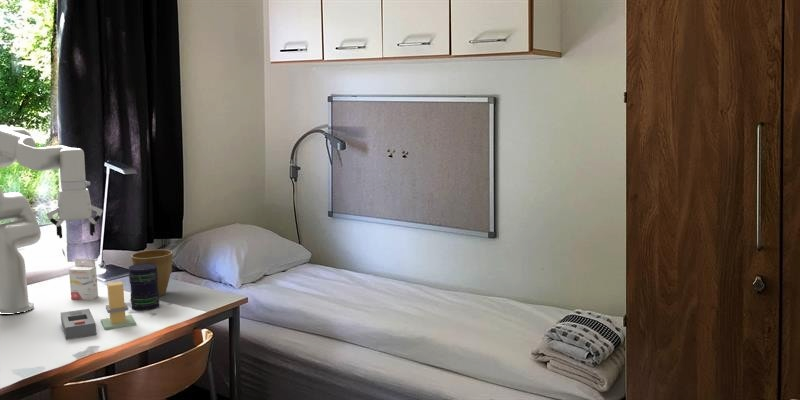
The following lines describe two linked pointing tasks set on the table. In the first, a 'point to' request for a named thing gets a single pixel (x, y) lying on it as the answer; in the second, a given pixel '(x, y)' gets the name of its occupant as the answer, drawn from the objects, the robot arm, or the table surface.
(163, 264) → the plant pot
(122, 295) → the plug
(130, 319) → the mat
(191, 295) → the table surface
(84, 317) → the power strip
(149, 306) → the storage jar
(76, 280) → the ink cartridge box
